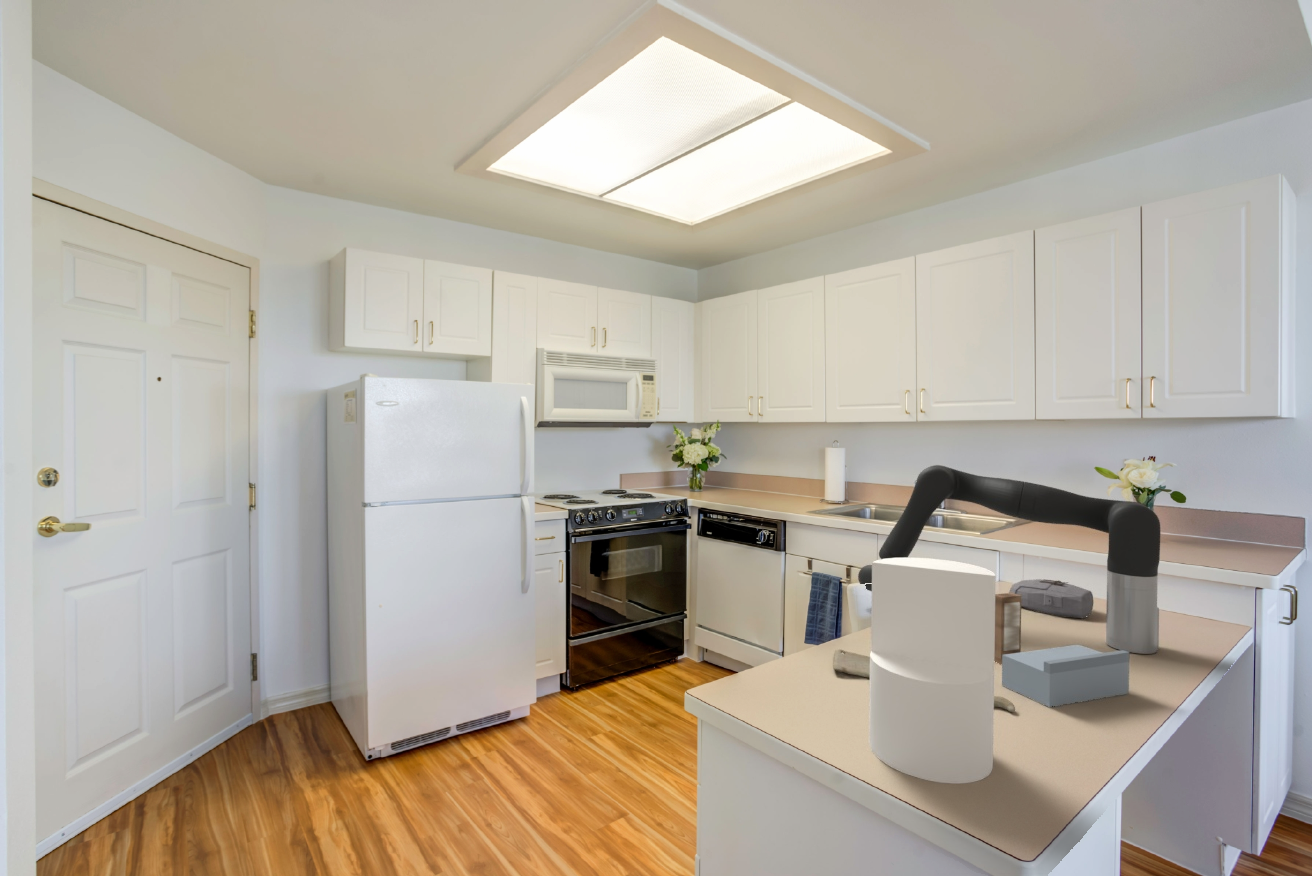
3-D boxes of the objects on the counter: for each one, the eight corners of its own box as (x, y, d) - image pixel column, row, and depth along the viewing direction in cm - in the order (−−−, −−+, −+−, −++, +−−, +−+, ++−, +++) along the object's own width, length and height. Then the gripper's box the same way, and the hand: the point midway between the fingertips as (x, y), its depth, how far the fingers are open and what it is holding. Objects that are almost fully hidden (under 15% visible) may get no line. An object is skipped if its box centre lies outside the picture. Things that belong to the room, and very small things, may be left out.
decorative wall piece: (839, 704, 114) (1018, 718, 108) (839, 687, 114) (1018, 701, 108) (827, 647, 144) (967, 657, 138) (827, 635, 144) (967, 643, 138)
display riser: (1077, 673, 127) (1078, 635, 127) (1128, 693, 118) (1129, 652, 118) (1001, 685, 121) (1002, 645, 121) (1049, 707, 111) (1049, 663, 111)
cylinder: (880, 716, 107) (882, 553, 107) (995, 742, 99) (997, 565, 98) (857, 761, 92) (859, 572, 92) (990, 797, 84) (993, 588, 83)
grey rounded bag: (1098, 612, 172) (1018, 597, 187) (1099, 582, 172) (1019, 569, 187) (1082, 623, 162) (999, 606, 177) (1083, 591, 162) (1000, 577, 177)
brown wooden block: (1003, 654, 138) (1004, 590, 138) (1027, 664, 132) (1028, 597, 132) (984, 657, 136) (985, 592, 136) (1007, 667, 130) (1008, 599, 130)
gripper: (897, 581, 156) (946, 597, 141) (942, 577, 161) (995, 592, 145) (896, 611, 156) (945, 630, 141) (942, 606, 161) (994, 625, 145)
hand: (970, 611), depth 143 cm, fingers open, 8 cm apart
